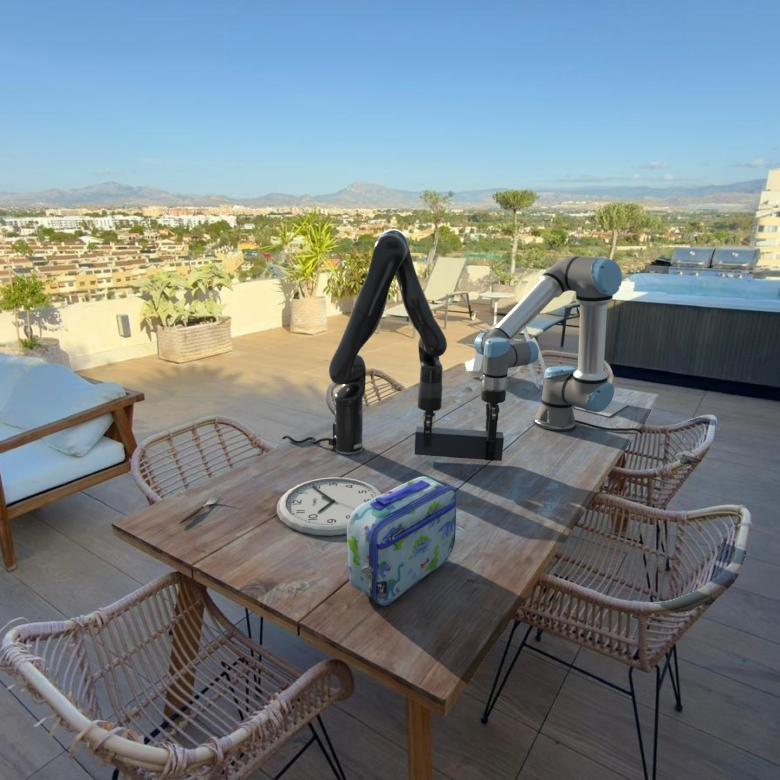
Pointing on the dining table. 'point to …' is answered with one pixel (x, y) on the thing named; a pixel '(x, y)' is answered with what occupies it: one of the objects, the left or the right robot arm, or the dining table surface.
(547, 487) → the dining table surface
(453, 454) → the beam
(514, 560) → the dining table surface
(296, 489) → the wall clock
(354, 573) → the lunch box
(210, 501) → the fork
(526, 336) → the white plastic object
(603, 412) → the invitation card
